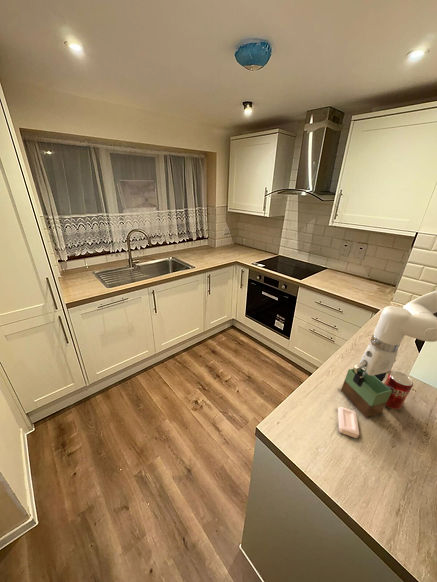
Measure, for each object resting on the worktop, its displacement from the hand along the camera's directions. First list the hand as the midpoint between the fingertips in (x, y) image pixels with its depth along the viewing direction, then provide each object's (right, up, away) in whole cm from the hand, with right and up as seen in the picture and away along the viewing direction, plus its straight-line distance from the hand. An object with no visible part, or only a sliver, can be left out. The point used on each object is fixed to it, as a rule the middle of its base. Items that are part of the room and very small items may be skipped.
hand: (367, 381), depth 83 cm
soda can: (+11, -10, +5) cm, 15 cm away
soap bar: (-10, -13, -4) cm, 17 cm away
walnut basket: (0, -9, +4) cm, 10 cm away
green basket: (0, -4, +2) cm, 5 cm away
